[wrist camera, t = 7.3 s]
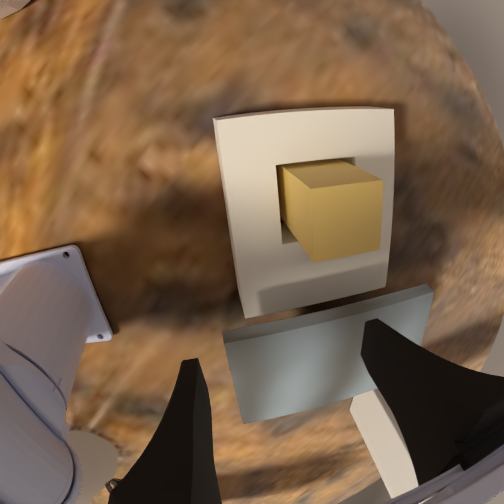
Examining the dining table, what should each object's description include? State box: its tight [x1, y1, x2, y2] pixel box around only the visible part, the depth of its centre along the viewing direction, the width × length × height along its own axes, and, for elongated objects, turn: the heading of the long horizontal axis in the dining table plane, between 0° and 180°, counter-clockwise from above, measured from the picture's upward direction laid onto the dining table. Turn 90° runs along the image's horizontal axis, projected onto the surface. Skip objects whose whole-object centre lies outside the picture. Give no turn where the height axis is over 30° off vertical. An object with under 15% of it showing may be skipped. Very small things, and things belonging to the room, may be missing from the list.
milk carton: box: [350, 388, 433, 504], centre depth 23 cm, size 7×7×19 cm
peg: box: [276, 158, 383, 263], centre depth 17 cm, size 4×4×7 cm
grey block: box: [222, 284, 434, 424], centre depth 22 cm, size 13×9×7 cm
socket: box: [213, 106, 395, 318], centre depth 19 cm, size 10×12×3 cm
